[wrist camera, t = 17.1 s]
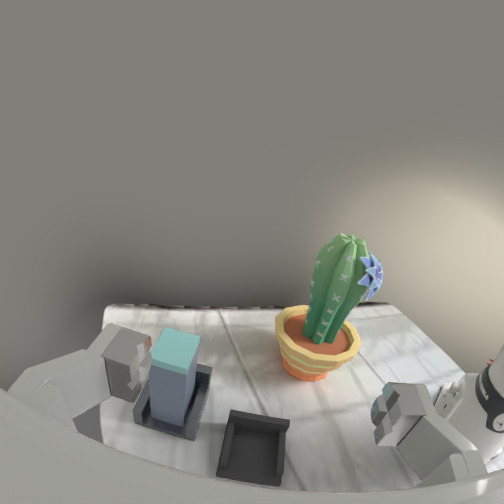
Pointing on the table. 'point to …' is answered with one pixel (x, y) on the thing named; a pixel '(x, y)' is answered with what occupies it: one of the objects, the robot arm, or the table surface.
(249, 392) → the table surface
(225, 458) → the dark grey open tray
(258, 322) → the table surface
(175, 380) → the plug
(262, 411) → the table surface
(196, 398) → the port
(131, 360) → the robot arm
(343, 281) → the potted cactus
